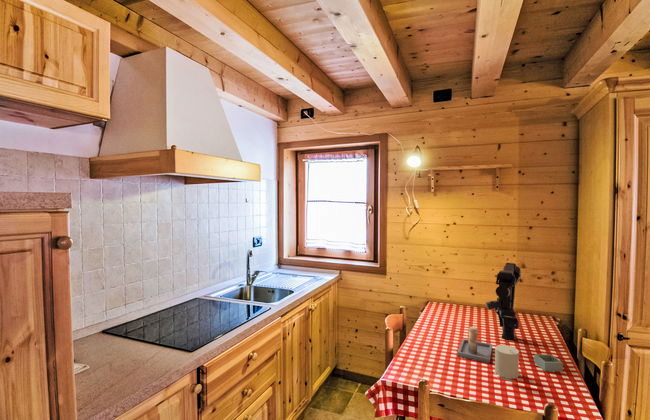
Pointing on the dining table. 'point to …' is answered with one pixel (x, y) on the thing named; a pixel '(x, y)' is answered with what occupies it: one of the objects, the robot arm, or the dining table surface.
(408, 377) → the dining table surface
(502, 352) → the can
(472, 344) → the dowel
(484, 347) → the tray
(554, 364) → the grey square bin
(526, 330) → the dining table surface
